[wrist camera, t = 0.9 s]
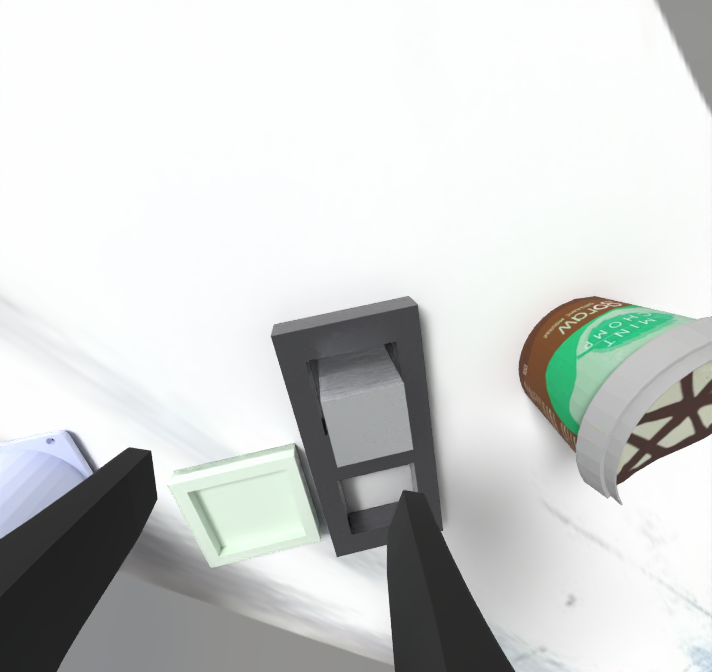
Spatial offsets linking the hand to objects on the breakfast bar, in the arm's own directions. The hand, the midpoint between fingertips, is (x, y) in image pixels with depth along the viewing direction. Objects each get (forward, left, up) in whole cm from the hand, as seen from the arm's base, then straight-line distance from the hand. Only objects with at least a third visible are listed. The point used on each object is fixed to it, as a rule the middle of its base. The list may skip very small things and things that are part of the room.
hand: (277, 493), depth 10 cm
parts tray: (-7, -14, -14) cm, 20 cm away
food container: (+19, -5, -14) cm, 24 cm away
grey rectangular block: (+3, -5, -14) cm, 15 cm away
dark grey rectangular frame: (+3, -10, -14) cm, 17 cm away
